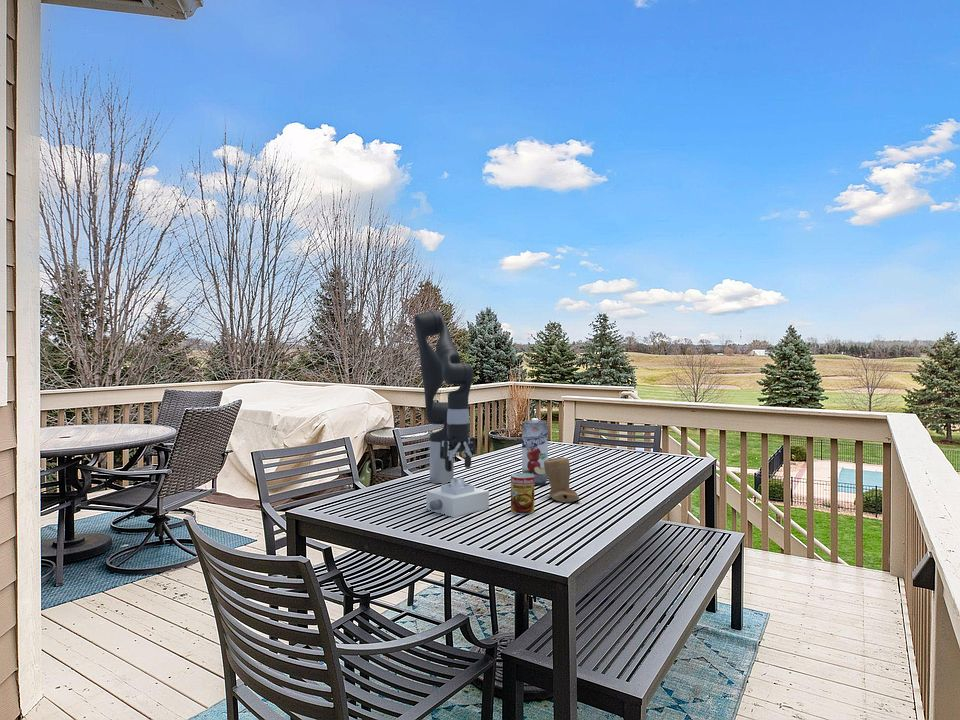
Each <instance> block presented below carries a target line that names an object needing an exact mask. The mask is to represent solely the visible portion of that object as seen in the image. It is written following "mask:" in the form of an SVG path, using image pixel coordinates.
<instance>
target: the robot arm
mask: <svg viewBox="0 0 960 720" xmlns="http://www.w3.org/2000/svg"><path fill="white" fill-rule="evenodd" d="M413 321H414V328H415V329H414V330H415V335H416V340H417V344H418V345H417V346H418V351H419V352H418V353H419V359H420V361H419V362H420V370H421V377H422V383H423V392H424V404H425V418H426V421H427V423H428V424H429V425H443V427H442V428H441V429H440V430H438V431H435V432H432V433H430V435H429V483H430V482H432V483H431V484H435V483H445V484H449V483H448V482H450V483H451V479H454V478H455V477H454V473H455V472H454V471H455V470H454V458H453V456H455V455H456V453H460V452H461V453H463V455H464V468H465V469H470V468H471V466H472V457H473V456H474V455H476V453H477V450H476V449H477V448H476V437H473V436H470V411H469V395H470V392H471V391H470V390H471V386H472V383H473V380H474V376H475V375H474V369H473V367H472V365H471V364H469V363H465V362H464V363H462V362H461V356H460V354H459V352H458V350H457V348H456V347H455V345H454V343H453V340H452V338H451V334H450V332H449V328H448V326H447V323H446V321H445V318H444V315H443V314H442V313H441V311H440V310H429V311H425V312H420V313H417V314H416V315H414V319H413ZM436 335H439V337H438V339H437V341H436V345H435V350H434V349H433V348H432V347H431V346H430V344H429V342H428V341H427V337H433V336H436ZM444 382H445V383H446V384H449V385H459V387H458V389H457V390H456V389H455V390H452V391H450V392H448V394H447V401H445V402H443V401H442V402H440V401H439V402H436V401H435V402H434V399H435V396H436V394H437V393H438V391H439V389H440V388H441V386H442V385H443V383H444Z"/></svg>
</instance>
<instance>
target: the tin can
mask: <svg viewBox="0 0 960 720" xmlns="http://www.w3.org/2000/svg"><path fill="white" fill-rule="evenodd" d="M450 483H451V487H454V488H461V487H464V483H465V479H464V478H460V477H454V479H451V482H450Z"/></svg>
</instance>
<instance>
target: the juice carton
mask: <svg viewBox="0 0 960 720" xmlns="http://www.w3.org/2000/svg"><path fill="white" fill-rule="evenodd" d="M521 427H522V429H521V431H522V432H521V448H522V449H521V453H522V454H521V456H522V457H521V468H522V469H521V470H522V471H521V473H529V474H533V475H534V486H546V484H547V480H548V478H547V475H546V472H545V469H544V461H545V460H547V459H549V441H548V440H549V439H548V437H549V434H548V433H549V432H548V430H549V429H548V423H547V421H546V420H539V418H536V417H533V418H531V420H523V422H522V426H521Z"/></svg>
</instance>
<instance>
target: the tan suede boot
mask: <svg viewBox="0 0 960 720" xmlns="http://www.w3.org/2000/svg"><path fill="white" fill-rule="evenodd" d="M544 469H545V472H546V475H547V480H548V483H549V486H550V490H549V492H548V494H549V496H550V497H551V499H553V500H555V501H557V502H561V503H571V502H575V501H578V500H579V499H580V496H579V495H578V493H577V492H576V491H575V490H574V489H571V488H570V477H571V465H570V460H569V458H568V457H562V456H561V457H555V458H548V459H547V460H545V461H544Z"/></svg>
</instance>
